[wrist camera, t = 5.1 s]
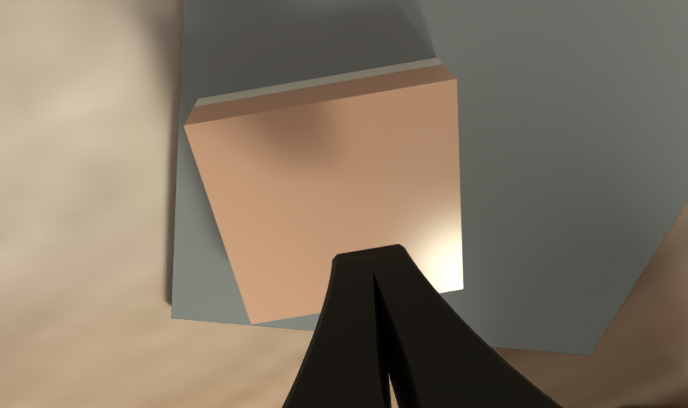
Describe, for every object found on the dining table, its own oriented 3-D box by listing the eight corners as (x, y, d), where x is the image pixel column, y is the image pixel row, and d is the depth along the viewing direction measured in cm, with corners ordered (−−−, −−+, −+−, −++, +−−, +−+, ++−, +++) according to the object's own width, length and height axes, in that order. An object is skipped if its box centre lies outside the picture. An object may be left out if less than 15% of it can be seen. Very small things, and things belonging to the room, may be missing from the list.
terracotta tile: (457, 78, 11) (183, 125, 11) (463, 289, 14) (251, 324, 14) (437, 57, 12) (197, 98, 12) (446, 250, 15) (256, 282, 15)
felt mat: (584, 347, 19) (590, 355, 18) (173, 309, 16) (171, 318, 16) (838, -67, 12) (854, -66, 12) (196, -244, 9) (193, -249, 9)
